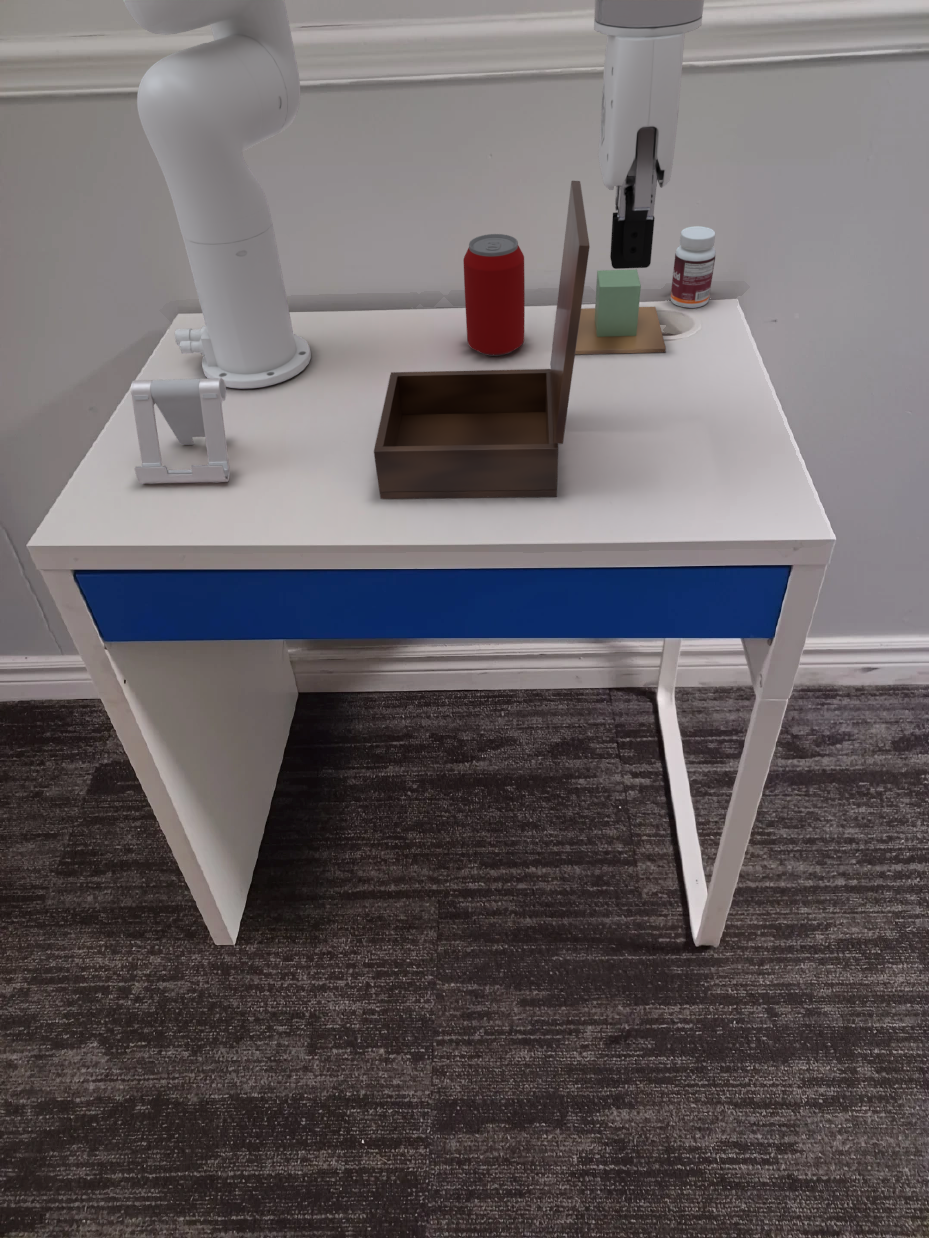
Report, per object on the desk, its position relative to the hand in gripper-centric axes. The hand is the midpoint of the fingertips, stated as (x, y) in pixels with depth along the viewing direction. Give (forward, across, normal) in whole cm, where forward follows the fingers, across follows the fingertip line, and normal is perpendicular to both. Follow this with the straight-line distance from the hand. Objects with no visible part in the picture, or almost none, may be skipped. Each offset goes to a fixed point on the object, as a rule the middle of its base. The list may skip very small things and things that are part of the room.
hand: (629, 264), depth 75 cm
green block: (+18, -26, +2) cm, 32 cm away
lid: (+4, 0, -6) cm, 7 cm away
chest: (+18, 0, -14) cm, 23 cm away
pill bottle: (+19, -34, +12) cm, 41 cm away
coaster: (+19, -26, +2) cm, 32 cm away
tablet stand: (+18, +1, -42) cm, 46 cm away
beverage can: (+19, -23, -12) cm, 32 cm away
